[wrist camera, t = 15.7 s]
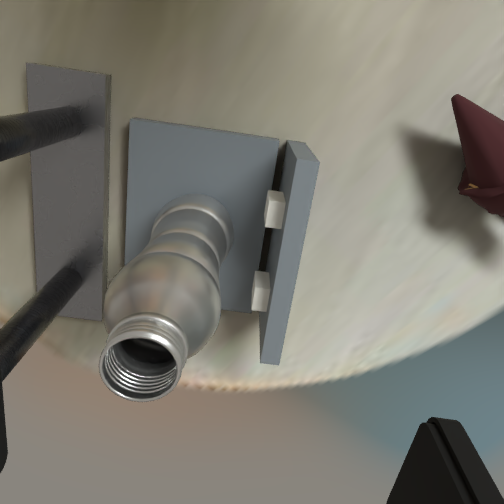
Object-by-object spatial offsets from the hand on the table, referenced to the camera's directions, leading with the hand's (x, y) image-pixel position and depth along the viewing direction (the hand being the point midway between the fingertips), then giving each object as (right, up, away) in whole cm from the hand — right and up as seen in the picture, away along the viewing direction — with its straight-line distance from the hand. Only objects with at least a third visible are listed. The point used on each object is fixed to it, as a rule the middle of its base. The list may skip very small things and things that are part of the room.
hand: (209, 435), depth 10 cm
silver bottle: (-4, +7, +28) cm, 29 cm away
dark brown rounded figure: (+21, +12, +27) cm, 36 cm away
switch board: (-3, +7, +29) cm, 30 cm away
